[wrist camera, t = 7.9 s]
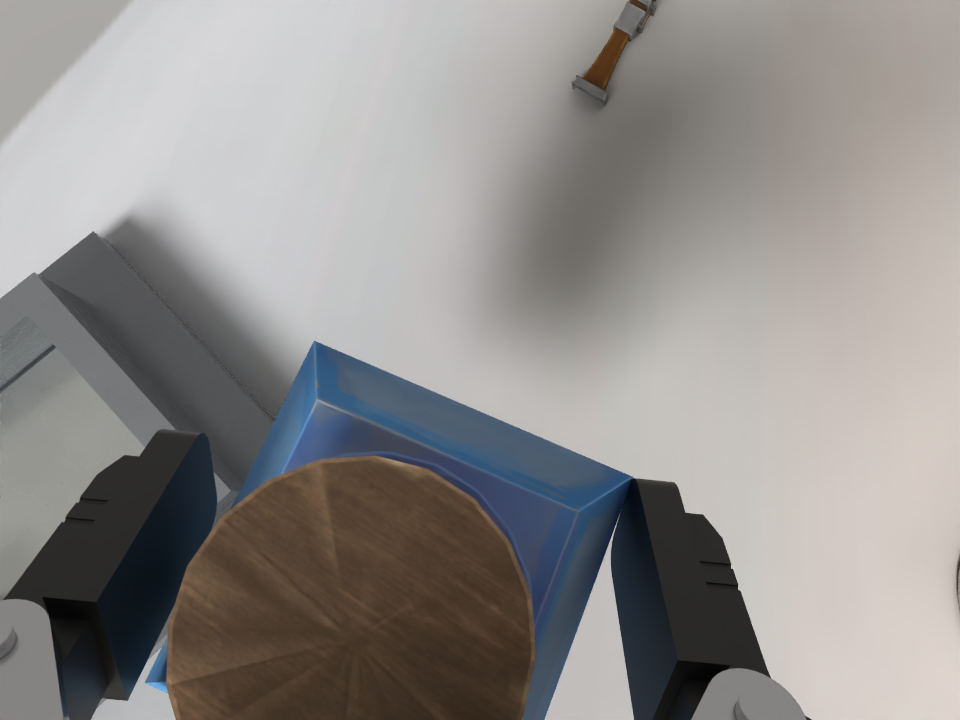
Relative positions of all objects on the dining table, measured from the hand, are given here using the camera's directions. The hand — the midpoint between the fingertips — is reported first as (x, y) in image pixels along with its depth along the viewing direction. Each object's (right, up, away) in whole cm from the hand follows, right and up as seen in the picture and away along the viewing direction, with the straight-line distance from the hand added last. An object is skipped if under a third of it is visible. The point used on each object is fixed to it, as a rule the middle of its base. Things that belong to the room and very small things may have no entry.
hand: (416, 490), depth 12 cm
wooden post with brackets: (+8, +18, +22) cm, 30 cm away
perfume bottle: (0, -3, +5) cm, 6 cm away
